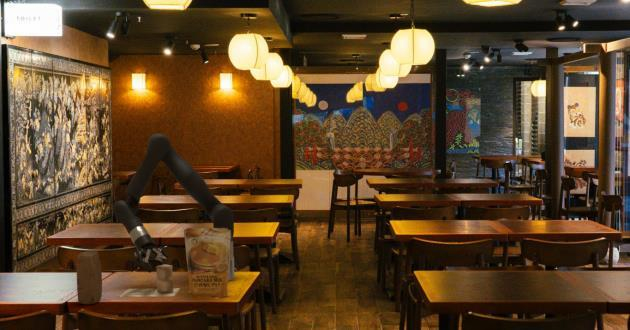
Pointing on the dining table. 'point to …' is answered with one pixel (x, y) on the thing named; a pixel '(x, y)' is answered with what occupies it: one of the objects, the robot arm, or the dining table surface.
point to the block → (89, 278)
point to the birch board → (146, 293)
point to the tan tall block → (164, 279)
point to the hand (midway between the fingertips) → (159, 269)
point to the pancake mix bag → (208, 260)
